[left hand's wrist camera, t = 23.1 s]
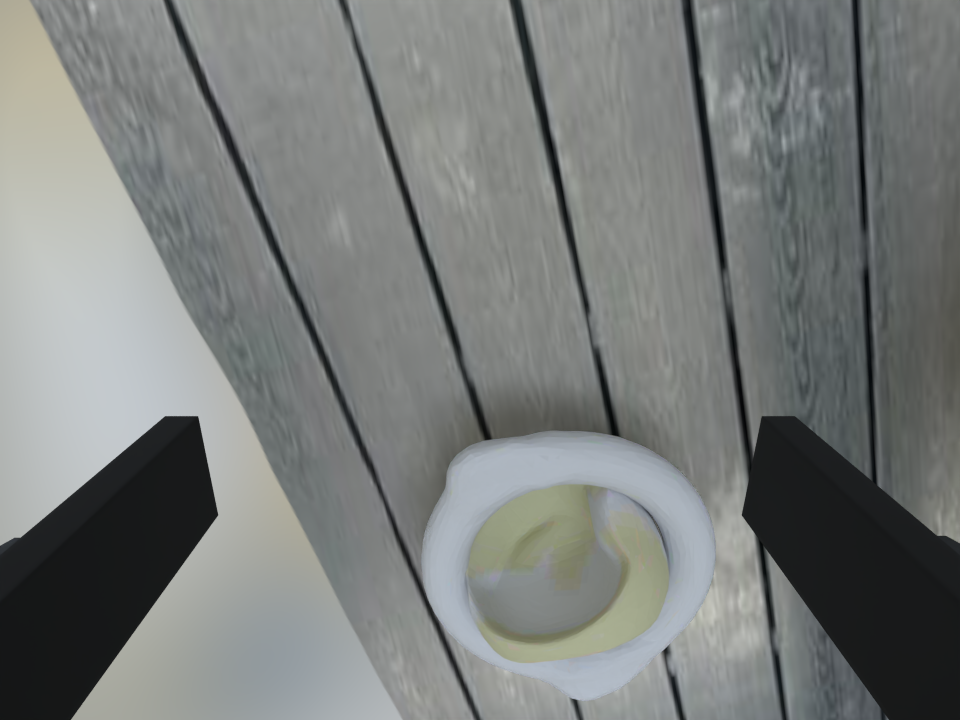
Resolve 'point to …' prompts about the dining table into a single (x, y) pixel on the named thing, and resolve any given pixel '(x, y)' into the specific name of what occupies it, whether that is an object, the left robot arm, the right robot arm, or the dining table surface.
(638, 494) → the hat
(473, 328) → the dining table surface
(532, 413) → the dining table surface
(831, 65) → the dining table surface
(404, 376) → the dining table surface
